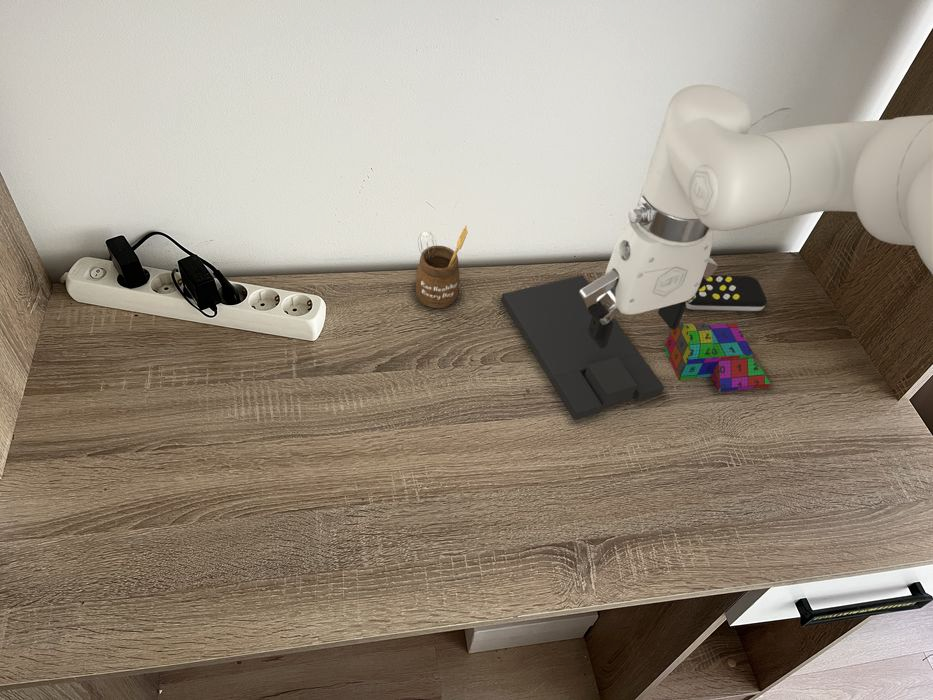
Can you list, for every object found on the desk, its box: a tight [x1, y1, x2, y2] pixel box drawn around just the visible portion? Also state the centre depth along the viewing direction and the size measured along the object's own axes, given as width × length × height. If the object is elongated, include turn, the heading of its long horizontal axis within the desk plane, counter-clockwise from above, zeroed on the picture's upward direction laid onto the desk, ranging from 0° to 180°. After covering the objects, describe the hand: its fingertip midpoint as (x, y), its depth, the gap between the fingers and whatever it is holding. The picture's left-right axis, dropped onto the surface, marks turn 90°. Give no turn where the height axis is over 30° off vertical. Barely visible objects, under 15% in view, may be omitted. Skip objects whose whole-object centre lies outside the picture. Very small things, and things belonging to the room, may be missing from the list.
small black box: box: [584, 357, 637, 409], centre depth 96 cm, size 5×4×3 cm
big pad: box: [500, 274, 665, 421], centre depth 101 cm, size 22×13×2 cm, turn 23°
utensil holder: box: [415, 224, 469, 309], centre depth 101 cm, size 6×6×12 cm
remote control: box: [685, 274, 768, 312], centre depth 110 cm, size 6×13×2 cm, turn 94°
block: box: [663, 320, 772, 393], centre depth 99 cm, size 12×8×7 cm
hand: (632, 330), depth 88 cm, fingers open, 9 cm apart
